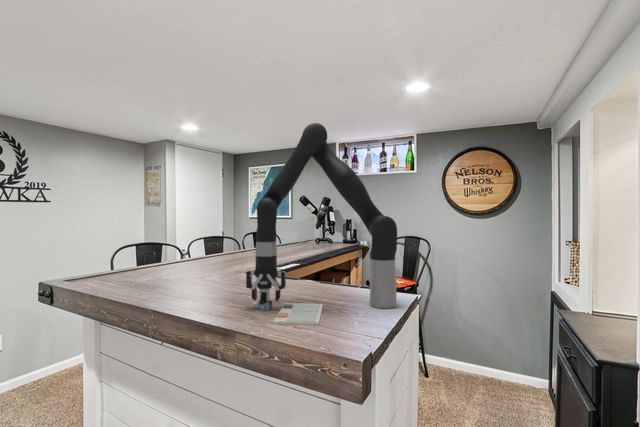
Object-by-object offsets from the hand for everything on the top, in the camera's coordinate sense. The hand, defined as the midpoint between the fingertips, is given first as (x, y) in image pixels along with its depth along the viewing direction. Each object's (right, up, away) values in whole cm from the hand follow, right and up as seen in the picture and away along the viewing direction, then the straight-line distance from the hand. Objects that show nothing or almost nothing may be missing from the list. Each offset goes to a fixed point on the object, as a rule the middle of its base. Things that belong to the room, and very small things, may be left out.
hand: (265, 300), depth 110 cm
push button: (0, -3, 0) cm, 3 cm away
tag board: (+13, -3, -6) cm, 14 cm away
